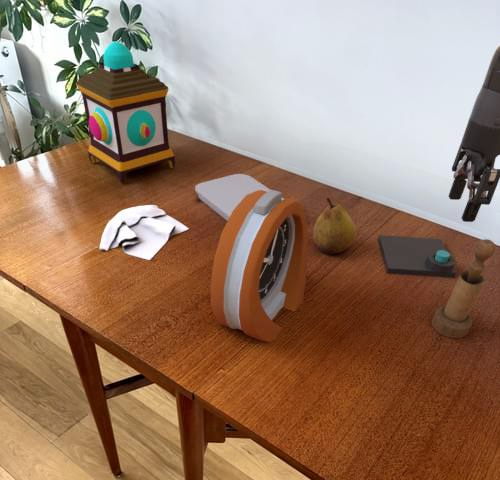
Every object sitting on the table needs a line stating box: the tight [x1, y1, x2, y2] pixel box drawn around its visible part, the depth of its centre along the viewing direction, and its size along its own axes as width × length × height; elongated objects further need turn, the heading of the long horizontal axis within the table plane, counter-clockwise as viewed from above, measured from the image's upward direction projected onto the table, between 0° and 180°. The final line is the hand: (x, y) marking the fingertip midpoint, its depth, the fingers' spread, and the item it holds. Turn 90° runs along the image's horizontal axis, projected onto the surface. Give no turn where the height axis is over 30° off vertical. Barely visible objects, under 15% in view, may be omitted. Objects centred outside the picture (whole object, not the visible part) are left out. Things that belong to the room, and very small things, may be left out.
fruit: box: [312, 197, 356, 255], centre depth 98 cm, size 9×9×12 cm
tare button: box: [435, 250, 451, 263], centre depth 95 cm, size 3×3×2 cm
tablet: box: [194, 173, 284, 222], centre depth 114 cm, size 16×26×2 cm, turn 35°
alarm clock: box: [210, 189, 309, 343], centre depth 78 cm, size 22×10×23 cm, turn 151°
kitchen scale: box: [377, 234, 457, 279], centre depth 100 cm, size 14×13×3 cm
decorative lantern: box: [75, 40, 176, 184], centre depth 119 cm, size 20×20×30 cm
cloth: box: [99, 204, 190, 261], centre depth 103 cm, size 20×22×2 cm
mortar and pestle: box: [431, 238, 497, 339], centre depth 78 cm, size 7×6×18 cm
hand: (460, 209), depth 86 cm, fingers open, 8 cm apart
